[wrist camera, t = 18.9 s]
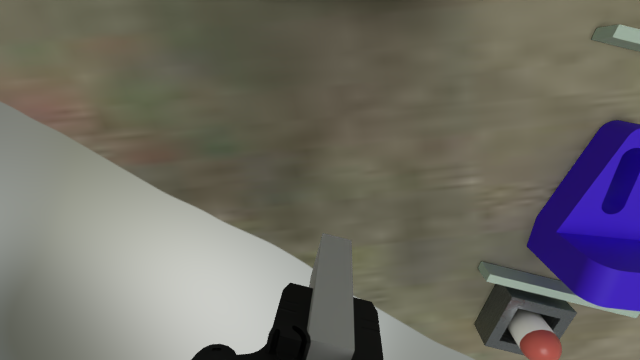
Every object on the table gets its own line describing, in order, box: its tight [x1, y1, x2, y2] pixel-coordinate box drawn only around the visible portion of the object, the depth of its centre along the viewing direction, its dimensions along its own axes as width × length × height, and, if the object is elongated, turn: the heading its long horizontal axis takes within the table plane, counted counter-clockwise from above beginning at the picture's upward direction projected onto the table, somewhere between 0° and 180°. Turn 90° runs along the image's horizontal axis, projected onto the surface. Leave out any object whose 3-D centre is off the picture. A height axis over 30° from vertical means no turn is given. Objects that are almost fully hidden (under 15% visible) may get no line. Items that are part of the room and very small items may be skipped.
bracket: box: [527, 120, 640, 311], centre depth 35 cm, size 18×11×12 cm, turn 176°
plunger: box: [507, 308, 562, 360], centre depth 43 cm, size 5×5×8 cm
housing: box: [474, 284, 577, 355], centre depth 46 cm, size 9×9×4 cm
